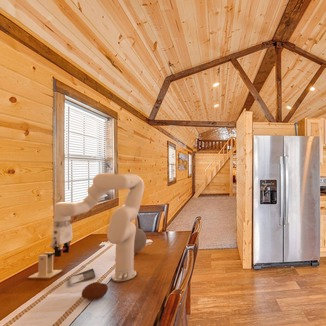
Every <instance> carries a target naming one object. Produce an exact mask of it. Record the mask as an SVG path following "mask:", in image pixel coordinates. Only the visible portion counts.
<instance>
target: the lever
mask: <svg viewBox="0 0 326 326" xmlns="http://www.w3.org/2000/svg"><path fill="white" fill-rule="evenodd" d="M60 249H61V252H63V250H66V247H64V248H63V247H62V248H60ZM53 252H54V253H52V254H47V255H48V258H50V256H52V255H54V256H55V251H53Z"/></svg>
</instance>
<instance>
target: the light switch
mask: <svg viewBox="0 0 326 326" xmlns="http://www.w3.org/2000/svg"><path fill="white" fill-rule="evenodd" d="M80 275H82V276H80ZM77 276H79V277H78V279H79V280H78V281H76V282H73V283H72V285H75V284H79V283H82V282H86V281H88V280H90V279H93V278H96V273H95V270H94V268H89V269H88V270H84V271H81V272H79V273H77V274H74V275H71V276H70V278H72V277H77Z"/></svg>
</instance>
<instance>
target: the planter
mask: <svg viewBox="0 0 326 326" xmlns="http://www.w3.org/2000/svg"><path fill="white" fill-rule="evenodd" d="M147 241H148V240H147V235H146V233H145V231H144V230H143V229H141V228H138V227H136V234H135V240H134V254H138V253H139V252H141V251H142V250H143V249H144V248H145V247H146V245H147Z"/></svg>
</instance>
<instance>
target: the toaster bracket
mask: <svg viewBox="0 0 326 326" xmlns="http://www.w3.org/2000/svg"><path fill="white" fill-rule="evenodd" d="M54 252H55V251H53V252H51V251H48V252H47V251H45V252H44V254H39V255H38V262H37V264H38V267H37V272H34V273H33V274H31V275H29V276H28V277H27V279H50V278H52V277H54V276H56V275H58V274H59V273H61V272H63V269H54V257H55V254H54V255H52V256H50V258H48V255H47V254H52V253H54Z"/></svg>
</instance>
